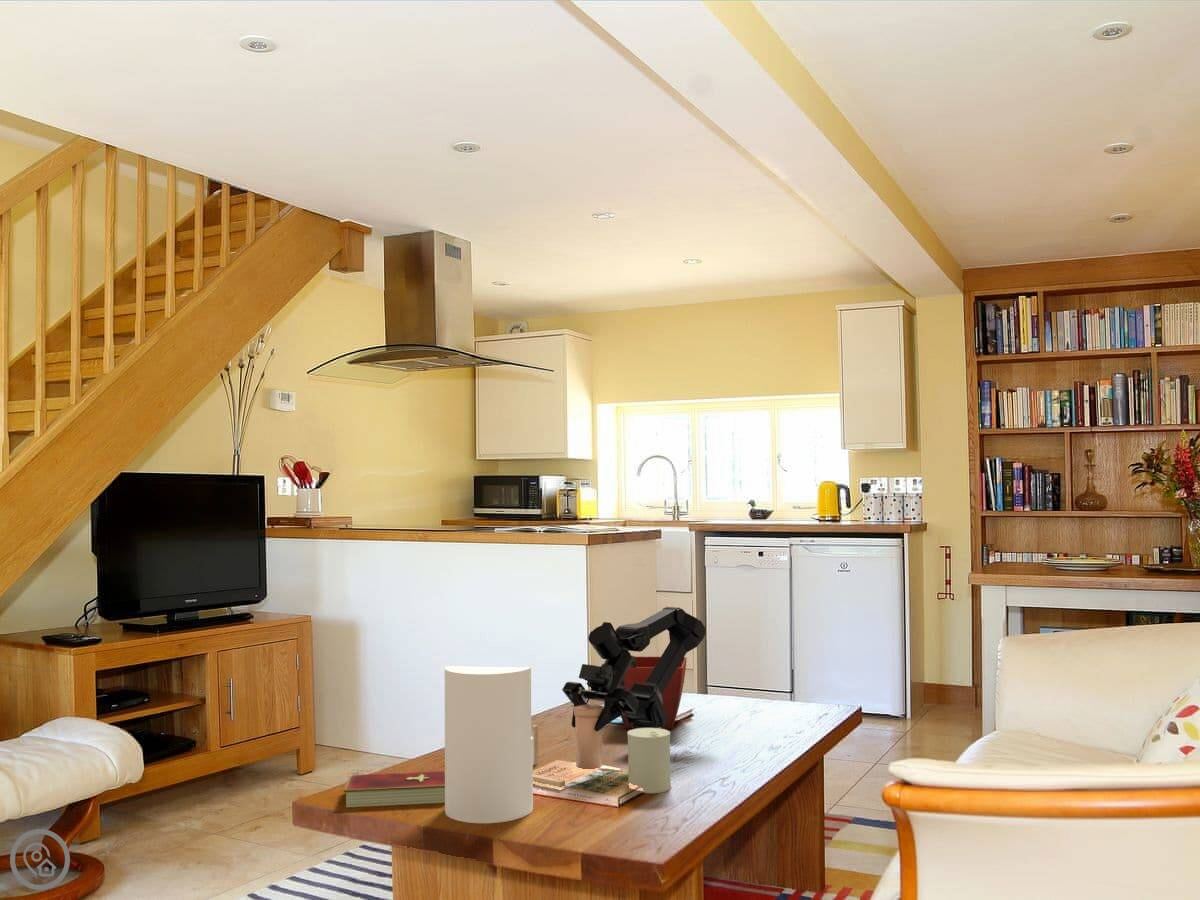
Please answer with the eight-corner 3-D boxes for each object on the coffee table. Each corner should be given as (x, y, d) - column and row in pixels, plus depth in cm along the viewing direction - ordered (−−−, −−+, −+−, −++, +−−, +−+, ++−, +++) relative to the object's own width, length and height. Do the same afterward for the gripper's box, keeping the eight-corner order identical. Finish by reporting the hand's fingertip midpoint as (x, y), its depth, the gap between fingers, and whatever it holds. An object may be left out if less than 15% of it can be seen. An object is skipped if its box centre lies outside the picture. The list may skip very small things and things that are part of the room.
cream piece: (557, 757, 246) (557, 719, 246) (621, 770, 234) (621, 729, 235) (494, 777, 229) (494, 736, 229) (560, 792, 217) (559, 748, 218)
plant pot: (619, 716, 292) (618, 655, 292) (687, 717, 289) (686, 656, 290) (610, 731, 273) (609, 666, 273) (683, 733, 270) (682, 667, 271)
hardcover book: (349, 793, 220) (349, 773, 220) (450, 788, 222) (450, 768, 223) (343, 810, 208) (343, 789, 208) (450, 805, 211) (450, 784, 211)
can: (641, 796, 214) (640, 737, 215) (619, 785, 222) (619, 728, 223) (679, 789, 218) (678, 732, 219) (657, 779, 227) (656, 723, 227)
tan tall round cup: (607, 763, 237) (606, 705, 237) (598, 770, 230) (598, 710, 231) (579, 761, 239) (579, 703, 239) (570, 768, 232) (569, 709, 233)
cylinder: (521, 825, 196) (520, 675, 197) (433, 821, 199) (432, 673, 200) (541, 798, 213) (540, 660, 214) (459, 795, 216) (459, 659, 217)
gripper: (566, 646, 244) (535, 702, 235) (630, 653, 233) (600, 712, 224) (588, 675, 250) (559, 730, 241) (651, 683, 239) (623, 742, 230)
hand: (584, 728), depth 234 cm, fingers closed on tan tall round cup, 6 cm apart
